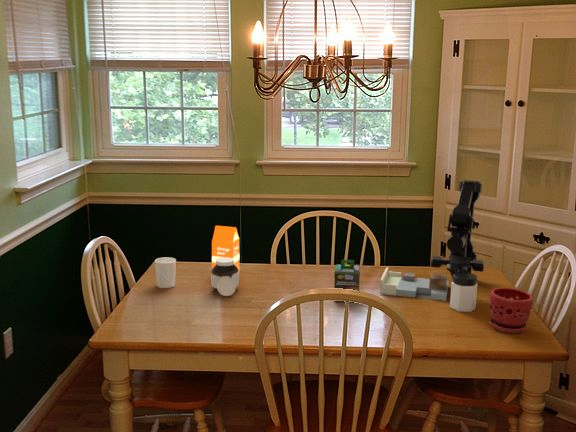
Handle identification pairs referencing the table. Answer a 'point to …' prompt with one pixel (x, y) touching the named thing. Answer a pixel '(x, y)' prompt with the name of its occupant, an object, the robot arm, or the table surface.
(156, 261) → the white cup
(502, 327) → the plant pot
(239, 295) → the table surface
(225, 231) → the orange juice
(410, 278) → the gray block
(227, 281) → the spread jar
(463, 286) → the jar
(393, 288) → the deck
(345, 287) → the chalk box
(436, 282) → the walnut block
